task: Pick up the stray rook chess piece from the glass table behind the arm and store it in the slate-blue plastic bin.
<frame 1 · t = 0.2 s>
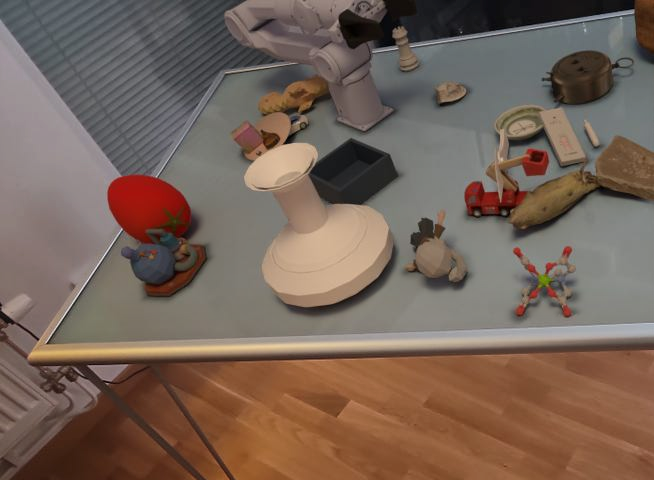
hand: (397, 18, 97), 21 cm above the table, tool horizontal, fingers open, 7 cm apart
rook chess piece: (410, 67, 133), on the table
toy 2: (260, 113, 130), point 2 cm above the table
white vase: (338, 273, 95), on the table
bin: (355, 184, 109), on the table
fossil: (434, 89, 120), point 2 cm above the table
model: (177, 271, 105), on the table
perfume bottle: (267, 137, 124), point 2 cm above the table, touching toy car
toy fire truck: (510, 210, 95), on the table, touching knife
saucer: (523, 133, 108), on the table, touching knife, pregnancy test
knife: (496, 159, 93), point 6 cm above the table, touching saucer, toy fire truck
alarm clock: (545, 85, 111), point 3 cm above the table
toy car: (283, 137, 126), on the table, touching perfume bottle
toy: (437, 265, 91), on the table
pregnancy test: (562, 140, 102), point 1 cm above the table, touching saucer
molecular model: (582, 292, 78), point 2 cm above the table
root vegetable: (563, 187, 88), point 5 cm above the table, touching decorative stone
tomato: (127, 194, 110), point 7 cm above the table
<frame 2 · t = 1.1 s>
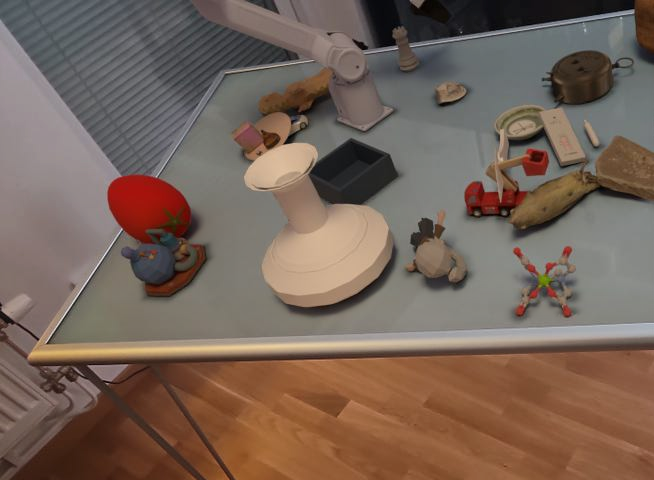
hand: (443, 9, 116), 13 cm above the table, tool tilted 35°, fingers open, 7 cm apart
nothing on the table moved.
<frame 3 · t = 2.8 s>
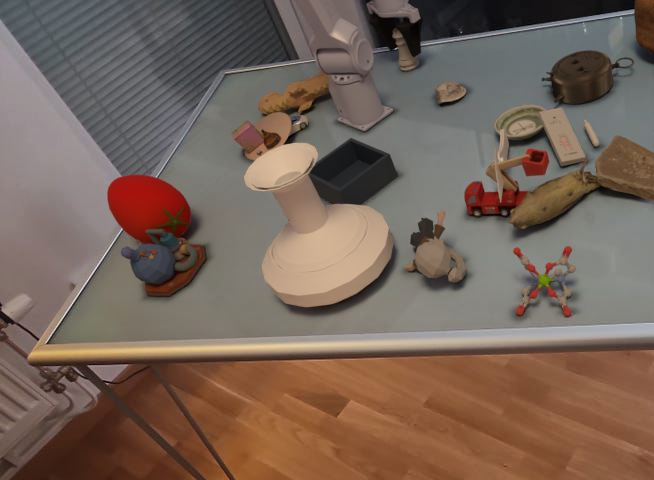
hand: (405, 51, 131), 3 cm above the table, tool pointing down, fingers open, 7 cm apart
nothing on the table moved.
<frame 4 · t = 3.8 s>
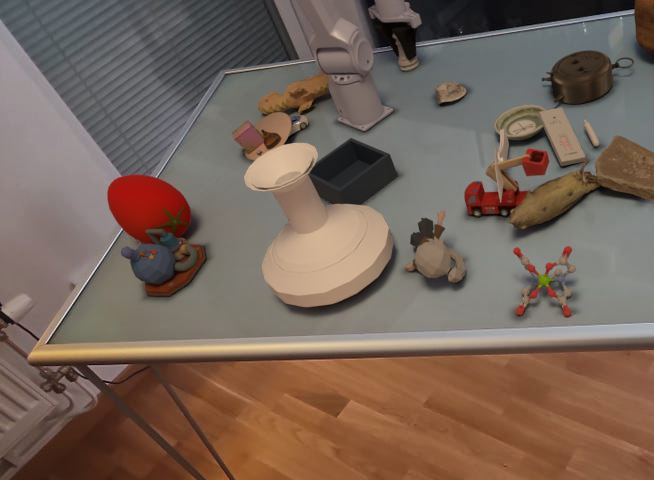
hand: (406, 56, 131), 2 cm above the table, tool pointing down, fingers closed on rook chess piece, 3 cm apart
rook chess piece: (410, 67, 133), on the table, touching gripper
everything else where it was.
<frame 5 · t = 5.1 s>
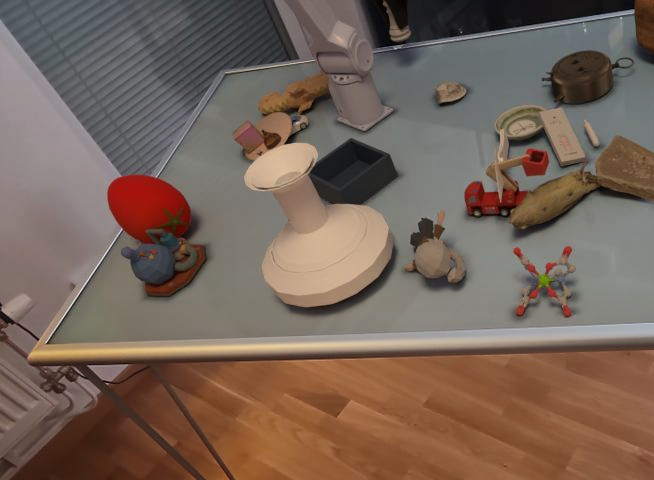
hand: (397, 25, 126), 9 cm above the table, tool pointing down, fingers closed on rook chess piece, 3 cm apart
rook chess piece: (401, 38, 128), point 6 cm above the table, touching gripper
everything else where it was.
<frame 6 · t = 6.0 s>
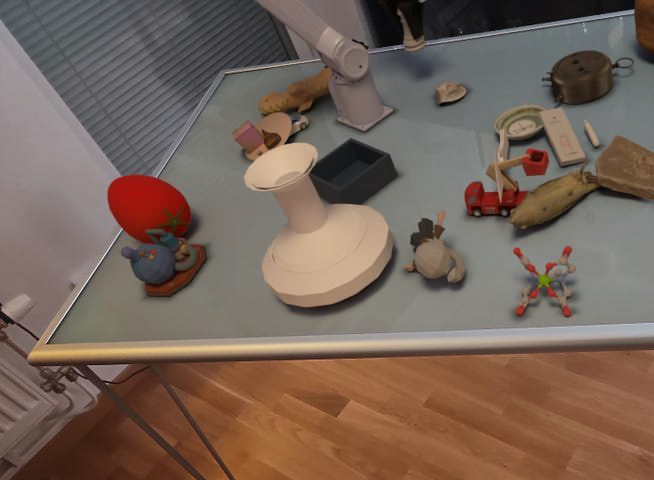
hand: (412, 35, 119), 10 cm above the table, tool pointing down, fingers closed on rook chess piece, 3 cm apart
rook chess piece: (416, 48, 121), point 7 cm above the table, touching gripper
everything else where it was.
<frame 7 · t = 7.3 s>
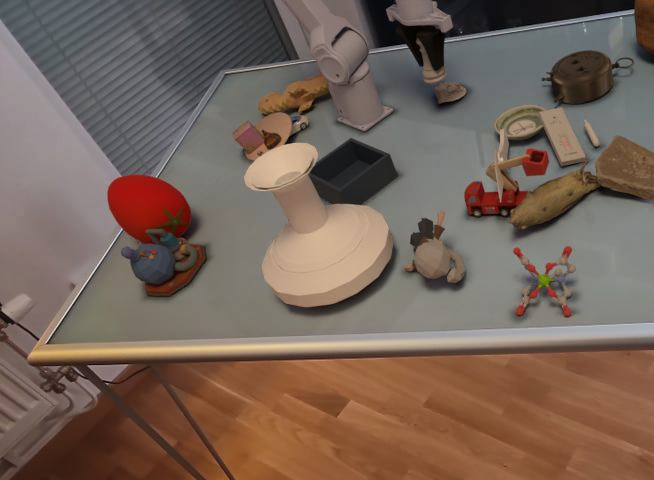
hand: (432, 65, 109), 10 cm above the table, tool pointing down, fingers closed on rook chess piece, 3 cm apart
rook chess piece: (436, 79, 111), point 7 cm above the table, touching gripper
everything else where it was.
when the fingers open (3 cm above the table, at t = 11.5 s): rook chess piece stays where it is, resting on bin.
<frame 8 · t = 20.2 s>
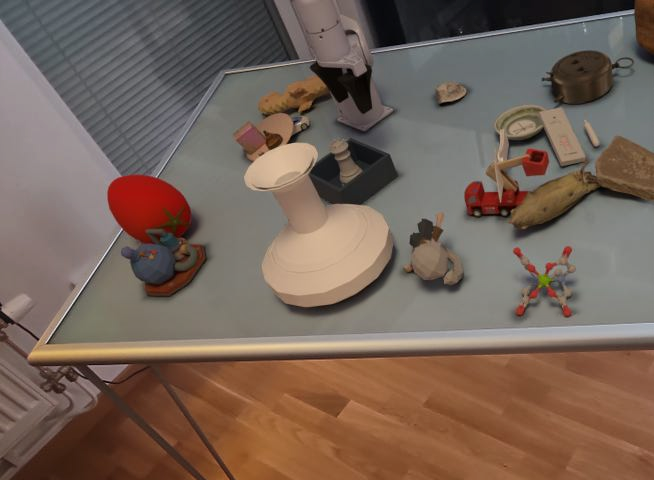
hand: (354, 105, 107), 10 cm above the table, tool pointing down, fingers open, 7 cm apart
rook chess piece: (354, 183, 109), resting on bin
everything else where it was.
at the end: rook chess piece inside the target area in the bin (0.1 cm from its centre), point 0.3 cm above the bin's base; the gripper is holding nothing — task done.
